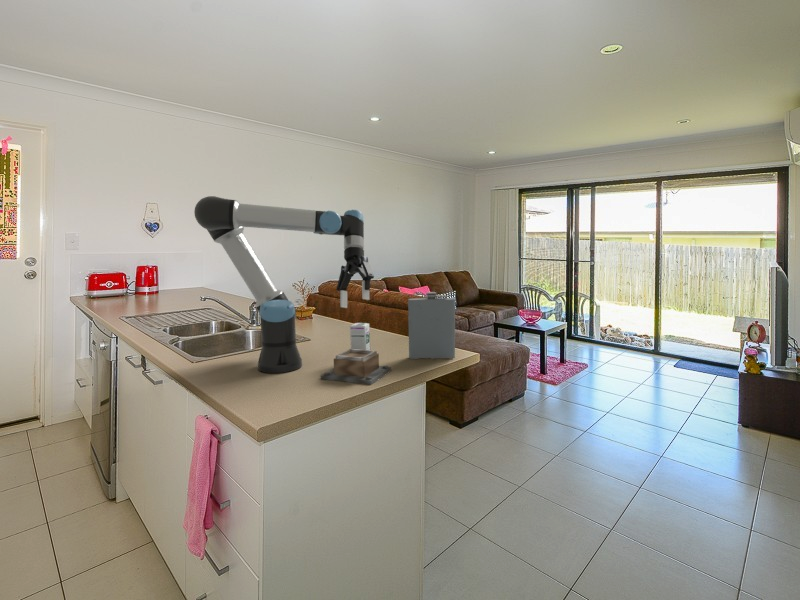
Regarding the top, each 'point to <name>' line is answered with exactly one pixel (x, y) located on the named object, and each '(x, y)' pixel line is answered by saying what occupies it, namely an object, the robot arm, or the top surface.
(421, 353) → the tall gray carton
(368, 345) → the syrup box
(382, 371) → the assembly base
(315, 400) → the top surface
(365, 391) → the top surface
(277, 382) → the top surface
